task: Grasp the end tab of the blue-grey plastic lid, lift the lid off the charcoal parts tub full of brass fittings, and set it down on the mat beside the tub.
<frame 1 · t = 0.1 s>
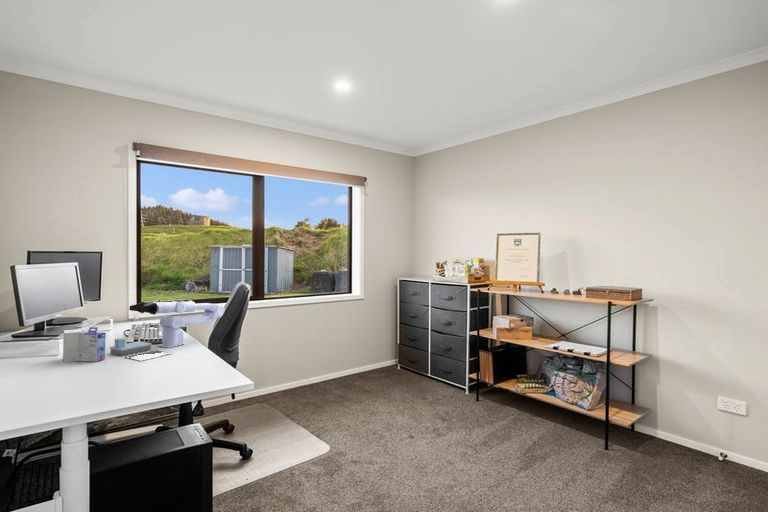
hand: (134, 308, 196), 22 cm above the table, tool horizontal, fingers open, 7 cm apart
small box: (72, 360, 182), on the table, touching ink cartridge box
mat: (149, 355, 192), on the table
ink cartridge box: (90, 360, 183), on the table, touching small box
lid: (131, 346, 199), point 2 cm above the table, touching tub
tub: (131, 351, 199), on the table
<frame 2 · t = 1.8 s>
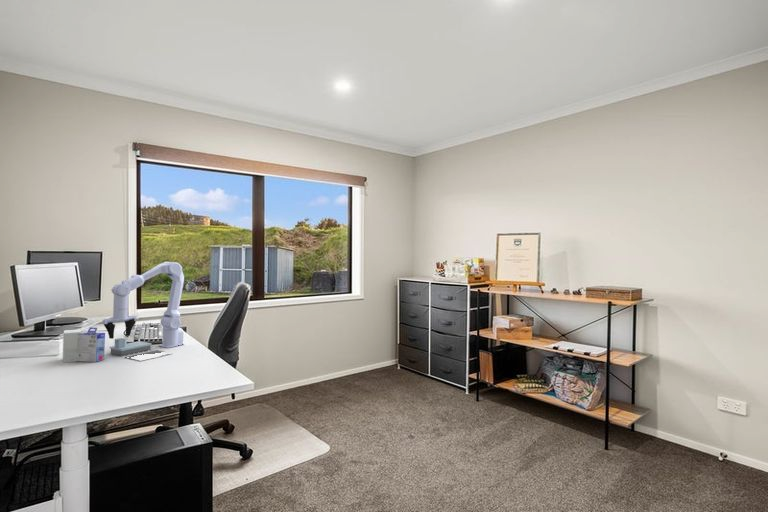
hand: (119, 337, 194), 8 cm above the table, tool pointing down, fingers open, 7 cm apart
ink cartridge box: (90, 360, 182), on the table, touching small box
everything else where it was.
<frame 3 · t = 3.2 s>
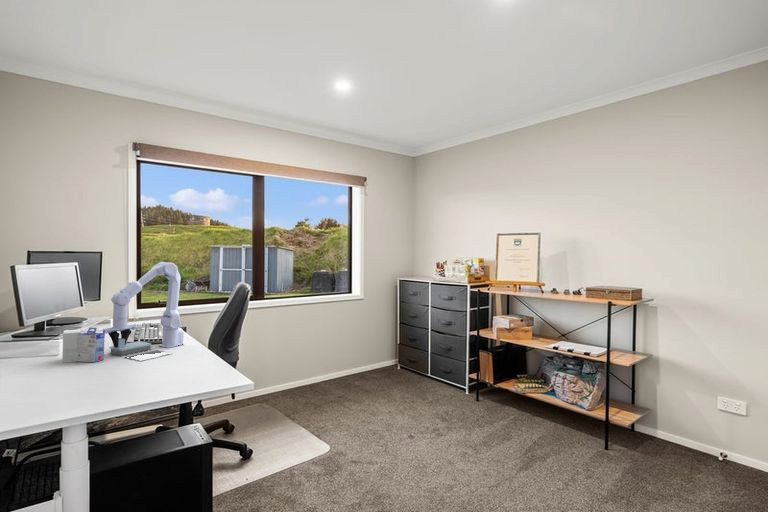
hand: (119, 346, 194), 4 cm above the table, tool pointing down, fingers closed on lid, 3 cm apart
lid: (130, 346, 199), point 3 cm above the table, touching gripper, tub
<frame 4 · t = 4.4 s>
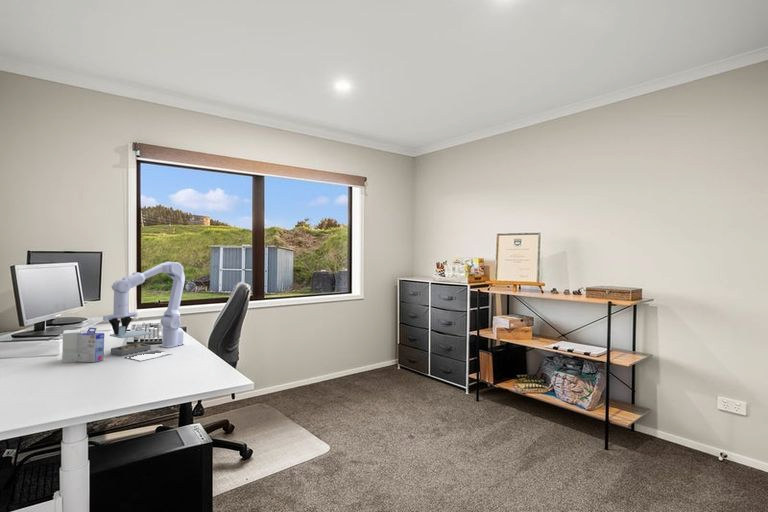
hand: (120, 333, 194), 10 cm above the table, tool pointing down, fingers closed on lid, 3 cm apart
lid: (131, 335, 198), point 8 cm above the table, touching gripper
everything else where it was.
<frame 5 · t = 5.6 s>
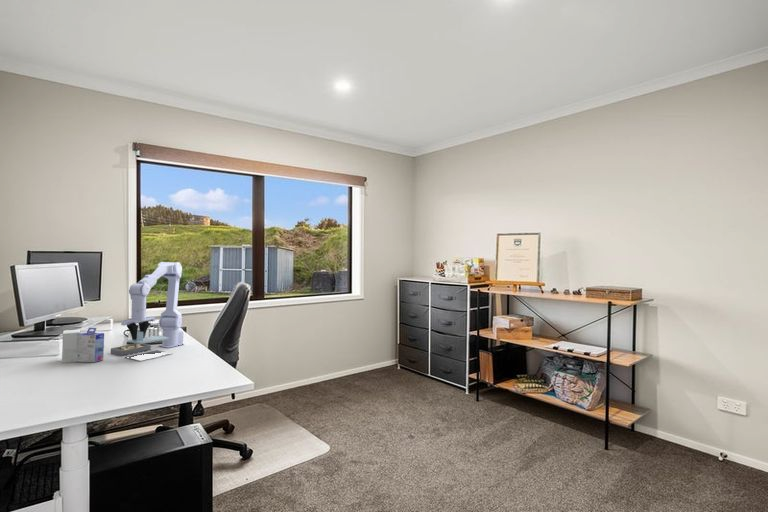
hand: (138, 338, 187), 9 cm above the table, tool pointing down, fingers closed on lid, 3 cm apart
lid: (148, 340, 192), point 7 cm above the table, touching gripper
everything else where it was.
when the fingers open (2 cm above the table, at t = 7.5 s): lid stays where it is, resting on mat.
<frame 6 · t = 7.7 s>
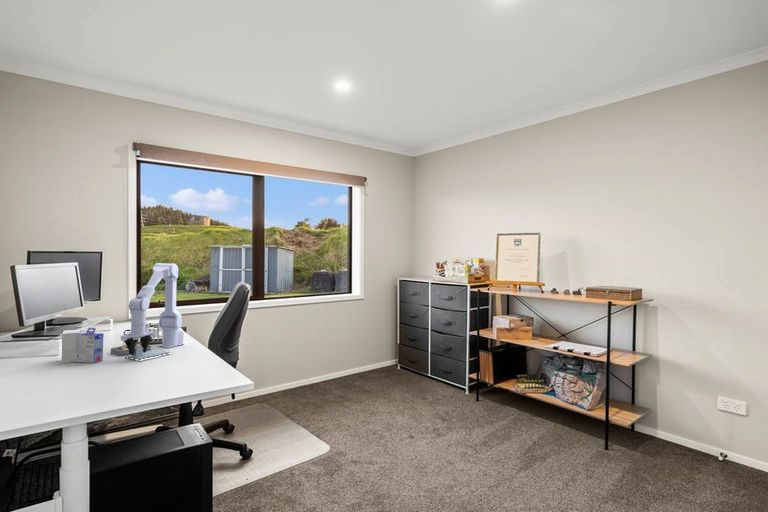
hand: (137, 353, 187), 2 cm above the table, tool pointing down, fingers open, 5 cm apart
lid: (148, 355, 192), resting on mat
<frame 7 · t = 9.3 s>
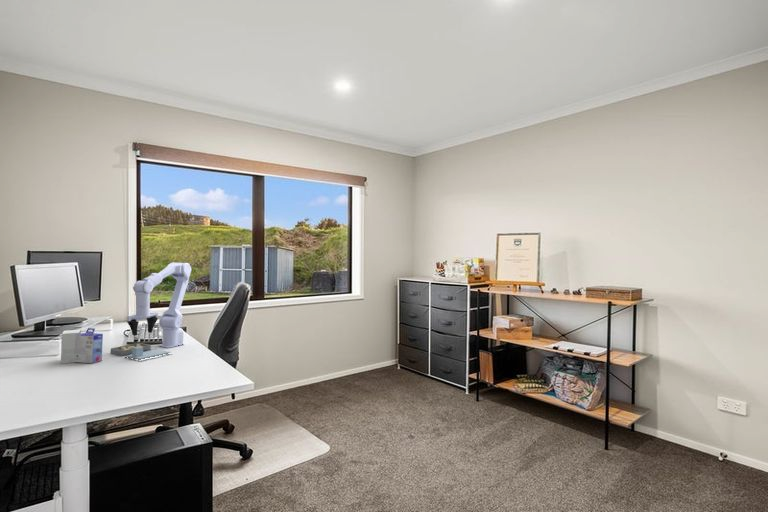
hand: (142, 333, 195), 10 cm above the table, tool pointing down, fingers open, 7 cm apart
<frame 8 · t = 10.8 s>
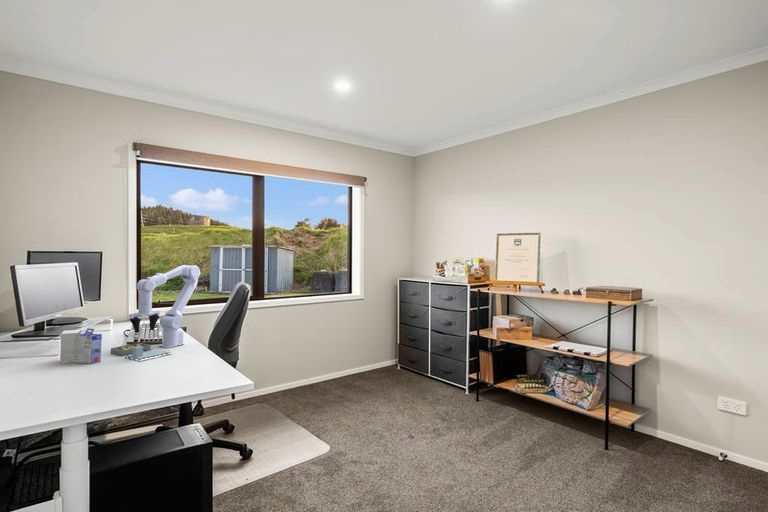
hand: (144, 331, 200), 10 cm above the table, tool pointing down, fingers open, 7 cm apart
at the end: lid inside the target area on the mat (0.2 cm from its centre), point 0.3 cm above the mat's base; lid touching mat; the gripper is holding nothing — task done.
